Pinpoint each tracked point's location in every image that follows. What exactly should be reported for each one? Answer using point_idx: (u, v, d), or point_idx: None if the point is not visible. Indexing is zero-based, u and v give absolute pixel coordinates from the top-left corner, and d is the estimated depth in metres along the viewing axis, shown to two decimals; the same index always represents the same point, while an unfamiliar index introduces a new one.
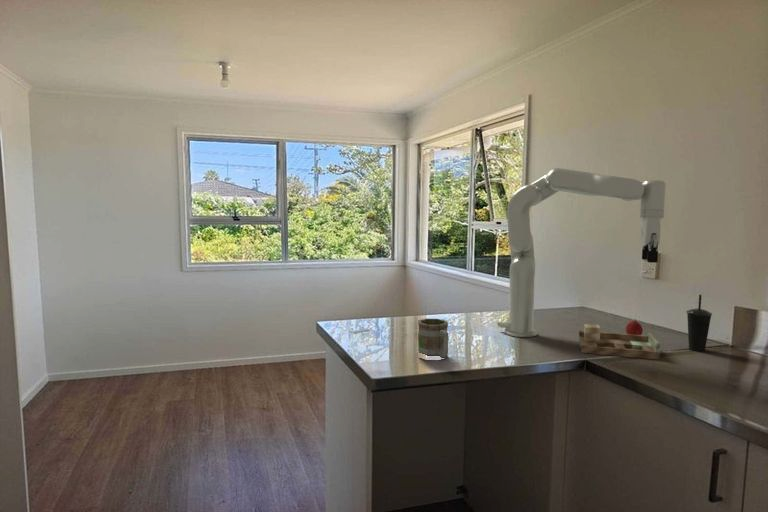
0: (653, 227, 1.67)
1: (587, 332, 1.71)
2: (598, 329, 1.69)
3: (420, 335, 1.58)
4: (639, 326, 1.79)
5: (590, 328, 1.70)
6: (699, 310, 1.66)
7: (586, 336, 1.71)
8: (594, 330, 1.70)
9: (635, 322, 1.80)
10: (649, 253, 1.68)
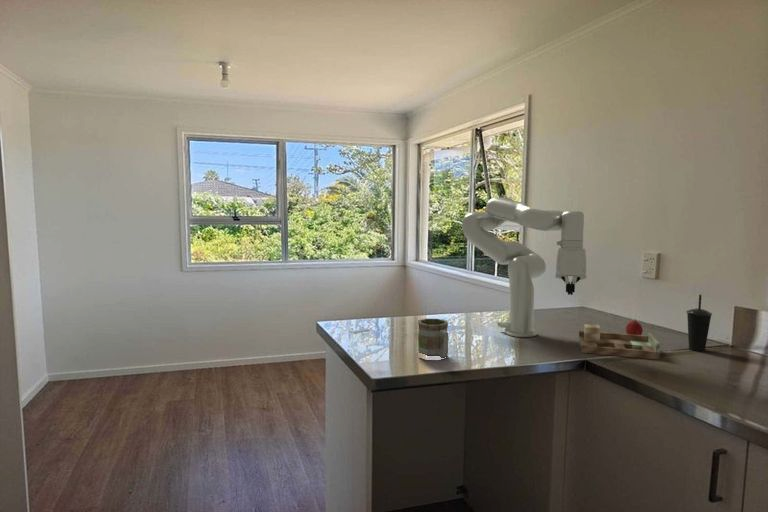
0: None
1: (587, 332, 1.71)
2: (598, 329, 1.69)
3: (420, 335, 1.58)
4: (639, 326, 1.79)
5: (590, 328, 1.70)
6: (699, 310, 1.66)
7: (586, 336, 1.71)
8: (594, 330, 1.70)
9: (635, 322, 1.80)
10: (572, 286, 1.72)
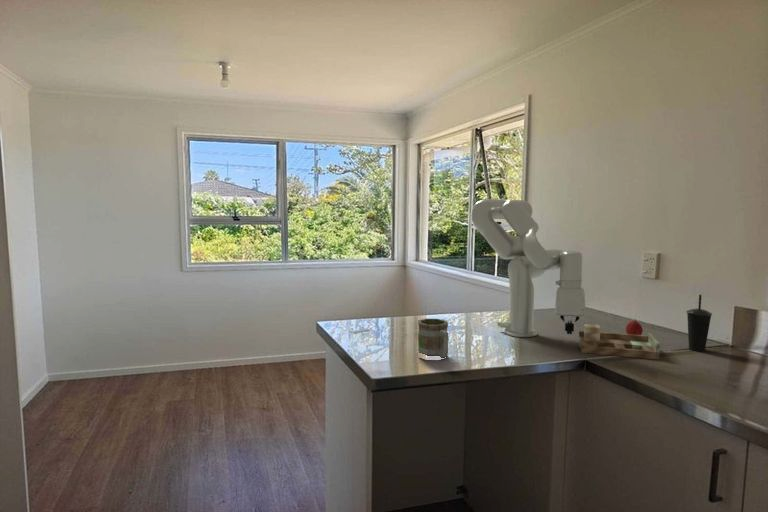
0: None
1: (587, 332, 1.71)
2: (598, 329, 1.69)
3: (420, 335, 1.58)
4: (639, 326, 1.79)
5: (590, 328, 1.70)
6: (699, 310, 1.66)
7: (586, 336, 1.71)
8: (594, 330, 1.70)
9: (635, 322, 1.80)
10: (571, 325, 1.73)
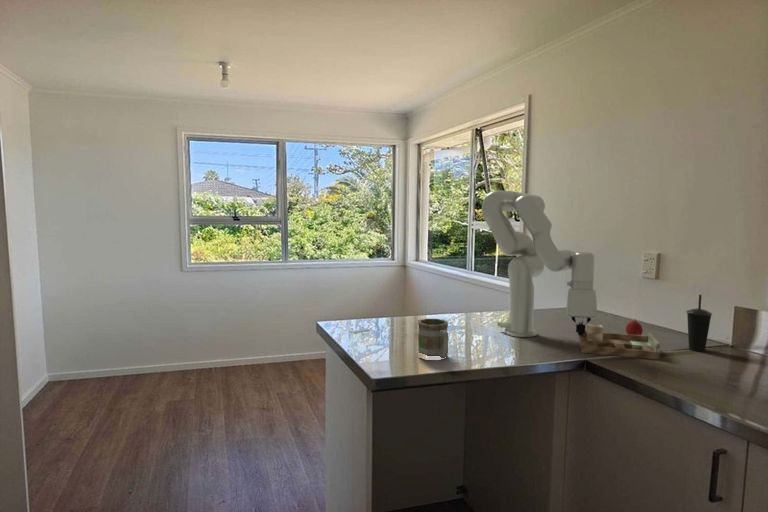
0: None
1: (590, 332, 1.70)
2: (601, 329, 1.69)
3: (420, 335, 1.58)
4: (639, 326, 1.79)
5: (593, 328, 1.70)
6: (699, 310, 1.66)
7: (589, 336, 1.71)
8: (597, 330, 1.70)
9: (635, 322, 1.80)
10: (583, 326, 1.72)
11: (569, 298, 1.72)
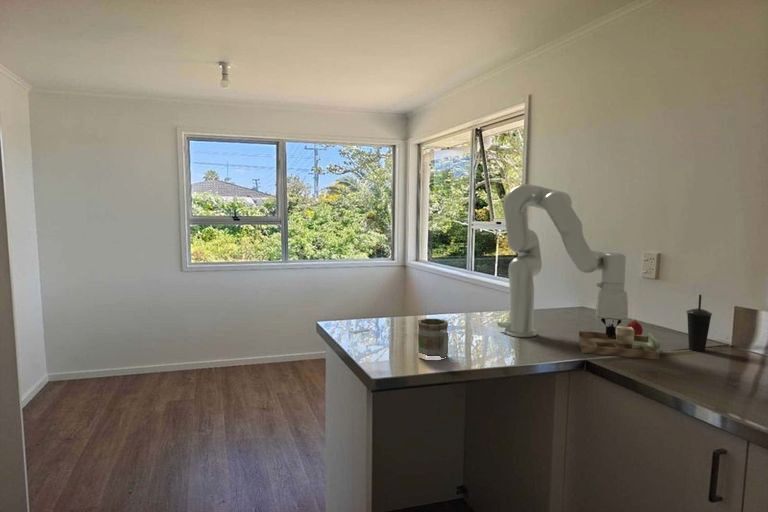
0: None
1: (620, 334, 1.67)
2: (632, 331, 1.66)
3: (420, 335, 1.58)
4: (639, 326, 1.79)
5: (624, 330, 1.67)
6: (699, 310, 1.66)
7: (619, 338, 1.68)
8: (628, 332, 1.67)
9: (635, 322, 1.80)
10: None
11: (599, 300, 1.68)
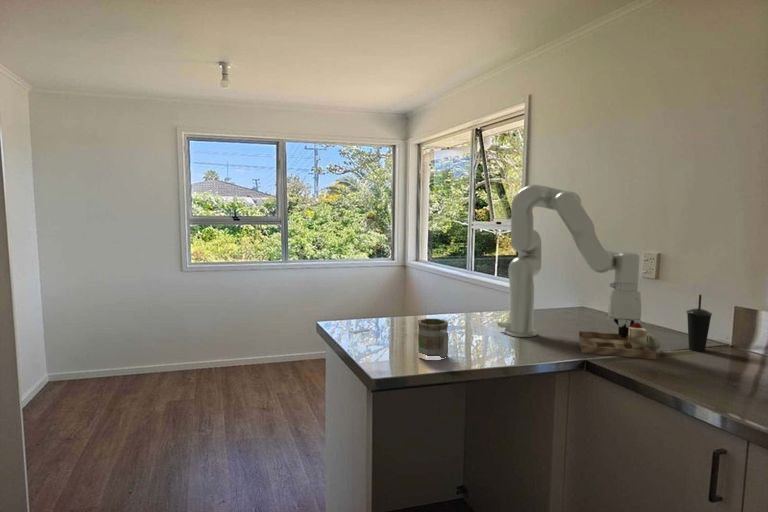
0: None
1: (633, 336, 1.66)
2: (645, 333, 1.64)
3: (420, 335, 1.58)
4: (639, 326, 1.79)
5: (636, 332, 1.65)
6: (699, 310, 1.66)
7: (632, 340, 1.66)
8: (641, 334, 1.65)
9: None
10: (626, 329, 1.68)
11: (612, 300, 1.67)
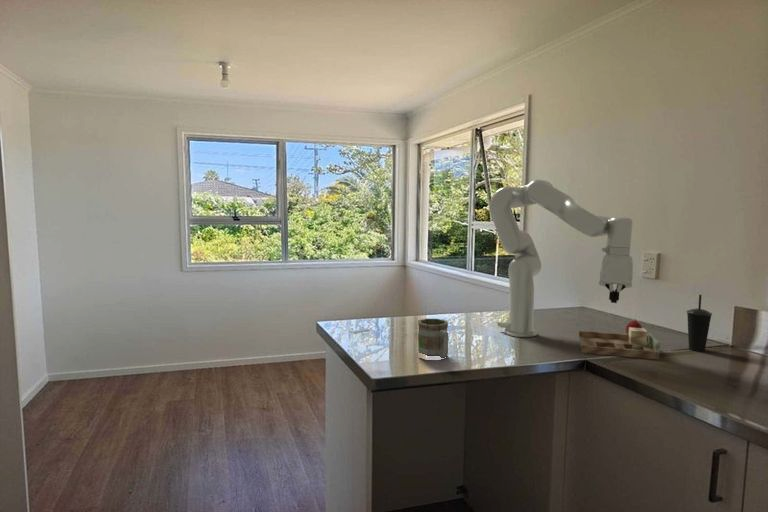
0: None
1: (633, 336, 1.66)
2: (645, 333, 1.64)
3: (420, 335, 1.58)
4: (639, 326, 1.79)
5: (636, 332, 1.65)
6: (699, 310, 1.66)
7: (632, 340, 1.66)
8: (641, 334, 1.65)
9: (635, 322, 1.80)
10: (617, 294, 1.68)
11: (604, 264, 1.67)
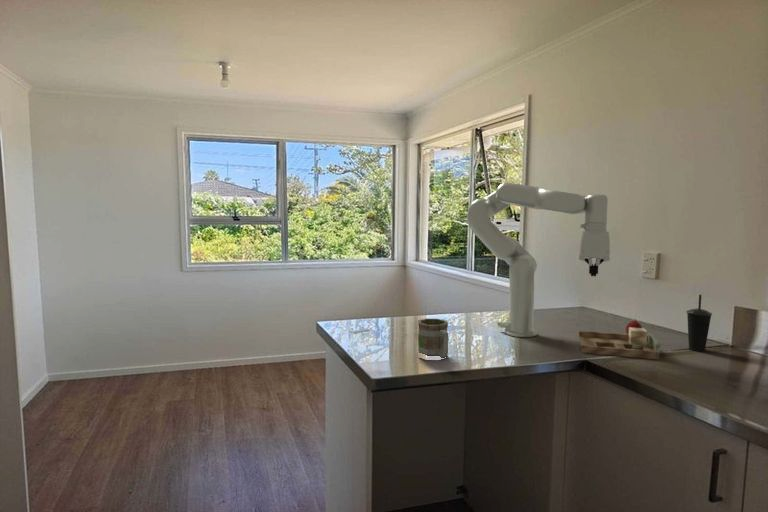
0: None
1: (633, 336, 1.66)
2: (645, 333, 1.64)
3: (420, 335, 1.58)
4: (639, 326, 1.79)
5: (636, 332, 1.65)
6: (699, 310, 1.66)
7: (632, 340, 1.66)
8: (641, 334, 1.65)
9: (635, 322, 1.80)
10: (596, 268, 1.76)
11: (583, 239, 1.76)
